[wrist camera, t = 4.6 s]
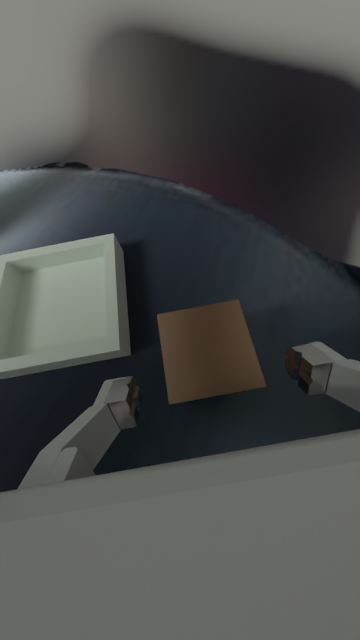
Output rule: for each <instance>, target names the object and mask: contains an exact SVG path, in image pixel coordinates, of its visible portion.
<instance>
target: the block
mask: <svg viewBox="0 0 360 640" xmlns="http://www.w3.org/2000/svg"><path fill="white" fill-rule="evenodd" d="M157 319H158V327H159V334H160V341H161V349H162V356H163V363H164V371H165V378H166V385H167V393H168V400H169V405H170V404H175V403H180V402H186V401H191V400H197V399H202V398H208V397H213V396H219V395H224V394H230V393H235V392H240V391H246V390H251V389H257V388H262V387H267V386H266V383H265V380H264V377H263V374H262V370H261V367H260V364H259V361H258V358H257V355H256V352H255V349H254V346H253V343H252V340H251V337H250V334H249V330H248V327H247V324H246V321H245V318H244V315H243V312H242V309H241V306H240V303H239V300H238V299H236V300H231V301H226V302H221V303H215V304H210V305H205V306H199V307H194V308H189V309H184V310H178V311H173V312H168V313H162V314H157Z"/></svg>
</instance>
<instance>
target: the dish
mask: <svg viewBox="0 0 360 640" xmlns="http://www.w3.org/2000/svg"><path fill="white" fill-rule="evenodd" d="M129 355H131V349H130V335H129V322H128V308H127V295H126V281H125V267H124V254H123V250H122V248H121V246H120V244H119V242H118V241H117V239H116V237H115V235H114V233H112V234H107V235H102V236H97V237H92V238H87V239H82V240H77V241H71V242H66V243H61V244H56V245H51V246H46V247H41V248H35V249H30V250H25V251H20V252H15V253H10V254H5V255H0V379H6V378H11V377H16V376H22V375H27V374H32V373H38V372H43V371H48V370H54V369H59V368H64V367H70V366H75V365H80V364H86V363H91V362H97V361H102V360H107V359H113V358H118V357H123V356H129Z"/></svg>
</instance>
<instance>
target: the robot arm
mask: <svg viewBox="0 0 360 640" xmlns="http://www.w3.org/2000/svg"><path fill="white" fill-rule="evenodd" d="M286 354H287V355H288V356H289V357H288V358H287V359H286V361H285V367H286V370H287V372H288V374H289V375H290V377H291V378H292V379H294V380H297V381H298V386H299V387H300V388H301V389H302V390H303V391H304V392H305V393H306V394H307V395H315V394H321V393H326V394H327V395H329V396H331V397H333V398H335V399H336V400H338V401H340V402H342V403H344V404H346V405H347V406H349V407H351V408H353V409H355V410H357V411H359V412H360V362H359V361H356V360H352V359H350V360H347V359H346V358H344V357H343V356H341V355H340V354H338V353H337V352H335V351H334V350H332V349H331V348H329V347H328V346H326V345H325V344H323V343H322V342H319V341H316V342H311V343H307V344H302V345H297V346H292V347H288V348H287V350H286ZM136 382H137V381H136V378H135V376H128V377H122V378H116V379H110V380H106V381H104V383H103V385H102V387H101V389H100V391H99V393H98V396H97V398H96V400H95V402H94V404H93V406H92V407H89V408H88V409H87V410H86V411H85V412H83V413H82V414H81V415H80V416H79V417H78V418H77V419H76V420H75V421H73V422H72V423H71V424H70V425H69V426H68V427H67V428H66V429H65V430H63V431H62V432H61V433H60V434H59V435H58V436H57V437H56V438H55V439H53V440H52V441H51V442H50V443H49V444H48V445H47V446H46V447H45V448H44V449H42V450H41V451H40V452H39V454H38V456H37V457H36V459H35V461H34V462H33V464H32V466H31V467H30V469H29V470H28V472H27V474H26V475H25V477H24V479H23V480H22V482H21V484H20V485H19V487H18V489H16V490H10V491H4V492H0V640H360V429H357V430H351V431H345V432H340V433H334V434H328V435H323V436H317V437H311V438H306V439H300V440H295V441H289V442H283V443H278V444H272V445H266V446H261V447H255V448H249V449H244V450H238V451H232V452H226V453H221V454H215V455H209V456H204V457H198V458H192V459H187V460H181V461H175V462H169V463H164V464H158V465H152V466H147V467H141V468H135V469H130V470H124V471H118V472H113V473H107V474H101V475H96V474H95V473H94V471H93V470H94V468H95V467H96V465H97V464H98V462H99V461H100V459H101V458H102V457H103V455H104V454H105V452H106V451H107V449H108V448H109V446H110V445H111V444H112V442H113V441H114V439H115V438H116V436H117V435H118V433H119V432H120V430H121V429H126V428H131V427H136V426H137V425H138V419H139V412H138V408H139V407H140V406H141V392H140V389H139V387H138V386H136Z"/></svg>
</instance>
